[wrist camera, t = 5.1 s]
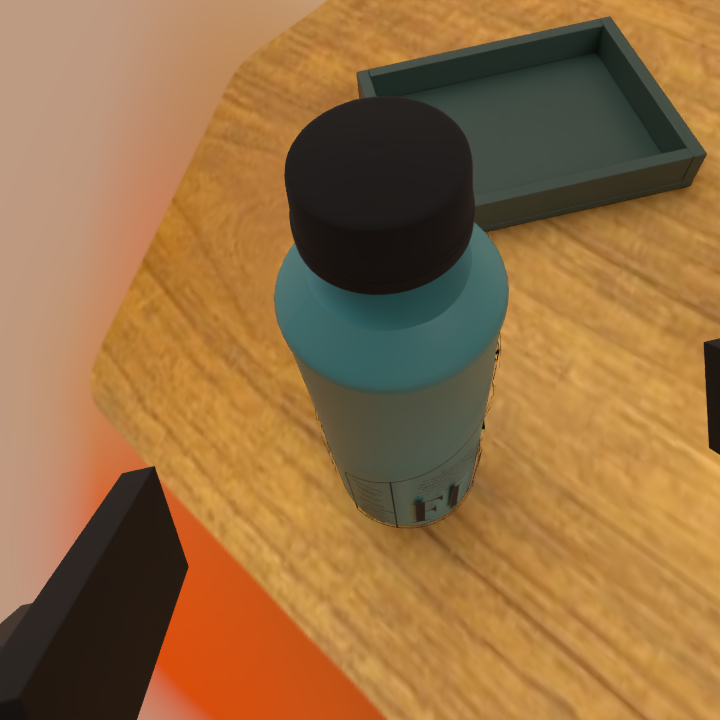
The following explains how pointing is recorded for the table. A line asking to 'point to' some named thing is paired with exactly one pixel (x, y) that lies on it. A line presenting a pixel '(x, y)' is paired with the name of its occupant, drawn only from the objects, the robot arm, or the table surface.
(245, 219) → the table surface
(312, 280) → the beverage bottle
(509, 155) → the tray
